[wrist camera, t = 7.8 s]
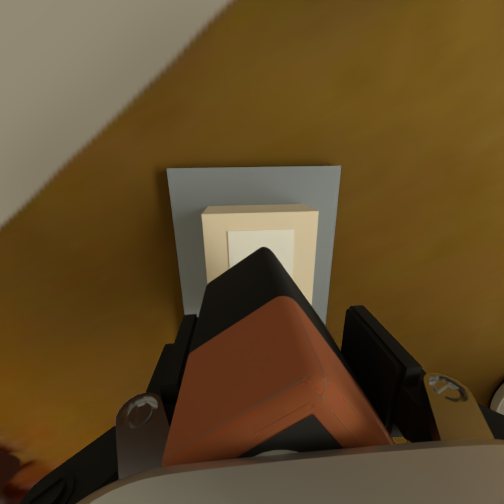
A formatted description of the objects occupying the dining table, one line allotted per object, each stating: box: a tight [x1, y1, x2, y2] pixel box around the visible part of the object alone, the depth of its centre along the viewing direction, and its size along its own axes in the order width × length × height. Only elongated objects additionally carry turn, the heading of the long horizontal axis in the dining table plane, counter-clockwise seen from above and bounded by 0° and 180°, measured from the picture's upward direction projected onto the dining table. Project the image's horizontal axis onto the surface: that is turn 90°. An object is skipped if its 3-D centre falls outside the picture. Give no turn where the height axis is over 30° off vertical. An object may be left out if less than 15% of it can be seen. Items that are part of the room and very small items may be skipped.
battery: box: [162, 247, 395, 467], centre depth 9 cm, size 4×7×10 cm, turn 35°
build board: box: [167, 166, 341, 324], centre depth 21 cm, size 20×14×5 cm
